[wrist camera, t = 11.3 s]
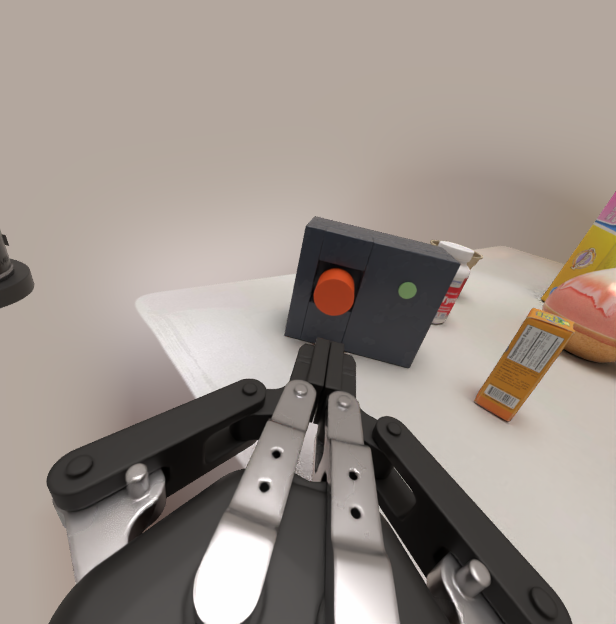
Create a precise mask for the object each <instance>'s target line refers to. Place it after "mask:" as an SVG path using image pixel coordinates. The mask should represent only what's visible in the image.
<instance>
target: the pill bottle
mask: <svg viewBox="0 0 616 624" xmlns="http://www.w3.org/2000/svg"><path fill="white" fill-rule="evenodd" d="M438 246H439V247H442V248H443V249H445V250H446V251H447V252H448V253H449V254H450V255H452V256H453V257H454V258H455V259H456V260H457V261H458V262H459V263H461V265H460V267H459V269H458V271H457V273H456V275H455V277H454V279H453V281H452V283H451V285H450V287H449V289H448V291H447V293H446V295H445V297H444V299H443V301H442V303H441V305H440V307H439V309H438V311H437V313H436V315H435V317H434V319H433V321H432V323H435V324H438V323H443V322H444V321H445V320H446V319H447V317H448V315H449V313H450V311H451V309H452V307H453V305H454V304H455V302H456V300H457V298H458V296H459V294H460V292H461V290H462V288H463V286H464V285H465V283H466V281H467V279H468V277H469V275H470V269H469V267H468V266H467V262H470V260H471V258H472V256H473V254H474V251H473V250H471V249H469V248H467V247H464V246H461V245H458V244H455V243H451V242H446V241H440V242H439V244H438Z"/></svg>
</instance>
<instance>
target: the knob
mask: <svg viewBox="0 0 616 624" xmlns="http://www.w3.org/2000/svg"><path fill="white" fill-rule="evenodd" d="M314 302H315V305H316V306H317V308H318V309H319V310H320V311H321V312H323V313H325V314H327V315H331V316H337V315H341V314H344V313H346V312H347V311H348V310H349V309H350V308H351V307H352V305H353V302H354V280H353V278H352V276H351V275H350V274H349V273H348V272H347V271H345V270H343V269H340V268H331V269H328V270H326V271H325V272H323V273H322V274H321V276H320V277H319V280H318V283H317V285H316V288H315V291H314Z"/></svg>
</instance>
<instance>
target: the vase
mask: <svg viewBox="0 0 616 624" xmlns="http://www.w3.org/2000/svg"><path fill="white" fill-rule="evenodd" d="M542 311H545V312H548V313H551V314H554V315H557V316H559V317H562V318H565V319H567V320H570V321H573V322H575V324H574V326H573V329H574V330H575V333H573V336H572V337H571V339H570V340H569V342H568V343H567V344H566V346H565V347H564V350H566V351H568V352H570V353H572V354H574V355H576V356H579V357H581V358H584V359H586V360H590V361H593V362H598V363H609V362H616V268H611V269H604V270H599V271H594V272H590V273H586V274H583V275H579V276H577V277H574V278H572V279H570V280H568V281H566V282H564V283H563V284H561V285H560V286H559V287H557V288H556V289H555V290H554V291H553V292H552V293H551V294H550V295H549V296H548V298H547V299H546V301H545V302H544V305H543V308H542Z"/></svg>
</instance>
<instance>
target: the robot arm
mask: <svg viewBox="0 0 616 624" xmlns="http://www.w3.org/2000/svg"><path fill="white" fill-rule="evenodd" d="M5 245H8V246H9V244H8V241H7V238H6V236H5V235H2V234H1V231H0V282H2V281H4V280H6V279H8V278H9V277H11V276H12V275H13V273H14V267H13V264H12V262H11V261H10V259H9V256H8V253H7V250H6V247H5ZM314 415H315V416H314ZM313 418H314V422H313V423H314V424H318V431H317V434H316V437H315V442H314V457H313V472H312V482H311V481H307V480H306V479H304V478H302V477H300V476H299V475H297V474H295V469H296V465H297V462H298V458H299V455H300V451H301V448H302V444H303V441H304V437H305V434H306V431H307V428H308V425H309V422H311V423H312V421H313ZM257 440H259V441H258V443H257V445H256V447H255V450H254V452H253V454H252V456H251V458H250V461H249V463H248V465H247V467H246V469H241V470H237V471H234V472H232V473H229V474H227V475H226V476H223V477H222V478H220V479H219V480H218V481H216V482H215V483H213V484H212V485H210V486H209V487H208V488H206V489H205V490H203V491H202V492H201V493H199V494H198V495H196V496H195V497H193V498H192V499H190V500H189V501H188V502H186V503H185V504H183V505H182V506H180V507H179V508H178V509H176V510H175V511H173V512H172V513H171V514H169V515H168V516H166V517H165V518H163V519H162V520H161V521H159V522H158V523H156V524H155V525H153V526H152V527H151V528H150V529H148V530H146V531H145V532H144V533H143V531H144V530H145V529H146V528H147V527H148V526H150V525H151V524H152V523H153V522H155V521H156V520H157V518H158V517H159V516H160V515H161V513H162V512H163V510H164V507H165V504H166V498H167V497H169V496H170V495H172V494H174V493H175V492H177V491H178V490H180V489H182V488H183V487H185V486H186V485H188V484H190V483H191V482H193V481H195V480H196V479H198V478H199V477H201V476H203V475H204V474H206V473H207V472H209V471H211V470H212V469H214V468H215V467H217V466H219V465H220V464H222V463H224V462H225V461H227V460H229V459H230V458H232V457H233V456H235V455H237V454H238V453H240V452H242V451H243V450H245V449H246V448H248V447H250V446H251V445H253V444H254V443H255V442H256V441H257ZM394 468H395V469H396V470H397V471H398V473H399V474H400V475H401V476H400V475H399V474H398V473H397V471H396V470H395V469H394ZM401 477H402V478H403V479H404V480H403V479H402V478H401ZM404 481H405V482H406V483H407V484H406V483H405V482H404ZM407 485H408V486H409V487H410V488H411V490H412V491H413V492H412V491H411V490H410V488H409V487H408V486H407ZM47 486H48V489H49V491H50V493H51V495H52V497H53V505H54V507H55V509H56V511H57V514H58V516H59V518H60V520H61V522H62V524H63V526H64V527H65V528H66V530H67V536H68V541H69V546H70V552H71V558H72V564H73V570H74V576H75V581H76V585H75V586H74V587H73V588H72V590H71V591H70V592H69V593H68V594H67V596H66V597H65V598H64V600H63V601H62V602H61V604H60V605H59V607H58V609H57V610H56V612H55V613H54V615H53V616H52V618H51V620H50V622H49V624H572V621H571V618H570V615H569V613H568V611H567V609H566V607H565V605H564V604H563V602H562V601H561V599H560V598H559V596H558V595H557V594H556V592H555V591H554V590H553V589H552V588H551V587H550V586H549V584H548V583H547V582H546V581H545V580H544V579H543V578H542V577H541V576H540V574H539V573H538V572H537V571H536V570H535V569H534V568H533V567H532V566H531V565H530V563H529V562H528V561H527V560H526V559H525V558H524V557H523V556H522V555H521V553H520V552H519V551H518V550H517V549H516V548H515V547H514V546H513V545H512V544H511V542H510V541H509V540H508V539H507V538H506V537H505V536H504V535H503V534H502V532H501V531H500V530H499V529H498V528H497V527H496V526H495V525H494V524H493V522H492V521H491V520H490V519H489V518H488V517H487V516H486V515H485V514H484V513H483V511H482V510H481V509H480V508H479V507H478V506H477V505H476V504H475V503H474V501H473V500H472V499H471V498H470V497H469V496H468V495H467V494H466V493H465V491H464V490H463V489H462V488H461V487H460V486H459V485H458V484H457V483H456V482H455V480H454V479H453V478H452V477H451V476H450V475H449V474H448V473H447V472H446V470H445V469H444V468H443V467H442V466H441V465H440V464H439V463H438V462H437V461H436V459H435V458H434V457H433V456H432V455H431V454H430V453H429V452H428V451H427V449H426V448H425V447H424V446H423V445H422V444H421V443H420V442H419V441H418V439H417V438H416V437H415V436H414V435H413V434H412V433H411V432H410V431H409V430H408V428H407V427H406V426H405V425H404V424H403V423H402V422H400V421H399V420H397V419H395V418H393V417H389V416H384V417H381V418H379V419H378V420H377V419H375V418H373V417H371V416H369V415H368V414H366V413H365V412H364V411H363V410H362V409H361V408H360V405H359V402H358V401H357V399H356V363H355V361H354V359H353V357H352V356H351V355H347V354H344V344H342V343H338V342H334V341H331V342H330V340H326V339H323V338H319V337H317V339H316V343H315V346H313V345H309V344H304V345H303V346H302V347H301V348H300V349H299V352H298V356H297V359H296V362H295V365H294V368H293V371H292V374H291V378H290V381H289V382H288V383H287V384H286V386H284V387H282V388H279V389H266V387H265V386H264V384H263V383H261V382H260V381H258V380H255V379H243V380H240V381H238V382H235V383H233V384H231V385H228V386H226V387H223V388H221V389H219V390H216V391H214V392H211V393H209V394H207V395H204V396H202V397H199V398H197V399H195V400H192V401H190V402H188V403H185V404H183V405H180V406H178V407H176V408H173V409H171V410H168V411H166V412H164V413H161V414H159V415H156V416H154V417H152V418H149V419H147V420H145V421H142V422H140V423H137V424H135V425H132V426H130V427H128V428H126V429H123V430H121V431H118V432H116V433H113V434H111V435H109V436H106V437H104V438H101V439H99V440H97V441H94V442H92V443H89V444H87V445H85V446H82V447H80V448H78V449H75V450H73V451H71V452H69V453H68V454H66V455H65V456H63V457H62V458H61V459H59V460H58V461H57V462H56V463H55V464H54V465H53V467H52V468H51V470H50V471H49V473H48V476H47ZM378 505H379V506H380V508H381V509H382V511H383V512H384V514H385V515H386V517H387V519H388V520H389V522H390V523H391V525H392V526H393V528H394V529H395V531H396V532H397V534H398V535H399V537H400V538H401V540H402V542H403V543H404V545H405V546H406V548H407V549H408V551H409V552H410V554H411V555H412V557H413V558H414V560H415V562H416V563H417V565H418V566H419V568H420V569H421V571H422V572H423V574H424V575H425V577H426V578H427V585H426V583H425V582H424V580H423V579H422V577H421V575H420V574H419V572H418V570H417V569H416V567H415V565H414V564H413V562H412V561H411V559H410V557H409V556H408V554H407V552H406V551H405V549H404V547H403V546H402V544H401V543H400V541H399V539H398V538H397V536H396V534H395V533H394V531H393V529H392V528H391V526H390V525H389V523H388V522H387V521H386V519H385V518H384V517H383V515H382V514H381V513H380V512H379V506H378Z"/></svg>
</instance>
